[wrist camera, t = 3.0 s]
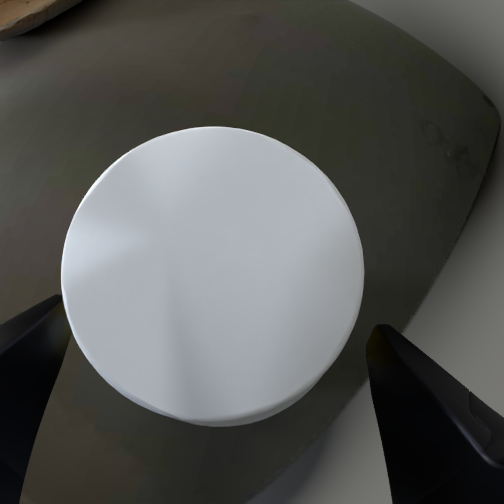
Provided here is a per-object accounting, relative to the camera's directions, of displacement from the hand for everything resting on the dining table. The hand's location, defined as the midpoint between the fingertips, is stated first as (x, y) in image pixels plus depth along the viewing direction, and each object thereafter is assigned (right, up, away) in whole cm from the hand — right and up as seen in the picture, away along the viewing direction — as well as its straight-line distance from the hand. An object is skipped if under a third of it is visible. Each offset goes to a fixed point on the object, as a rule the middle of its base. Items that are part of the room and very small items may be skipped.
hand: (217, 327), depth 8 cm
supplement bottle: (-1, -2, +8) cm, 9 cm away
